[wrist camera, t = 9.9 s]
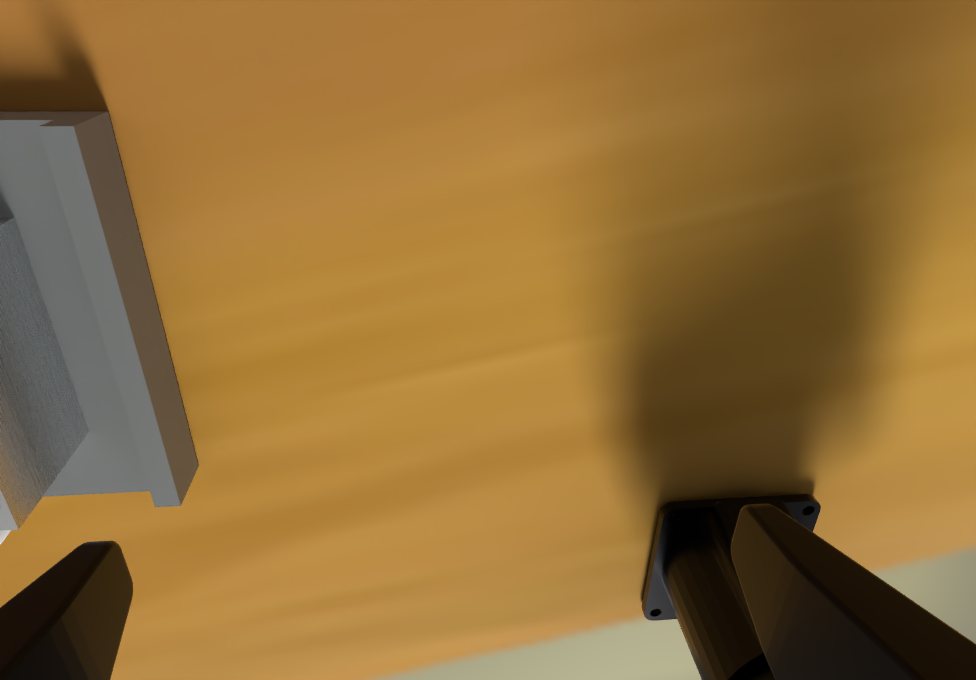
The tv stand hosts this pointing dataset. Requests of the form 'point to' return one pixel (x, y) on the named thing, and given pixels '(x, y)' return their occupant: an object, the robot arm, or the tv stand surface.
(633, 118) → the tv stand surface
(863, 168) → the tv stand surface
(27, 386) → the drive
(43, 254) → the tray
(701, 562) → the robot arm
